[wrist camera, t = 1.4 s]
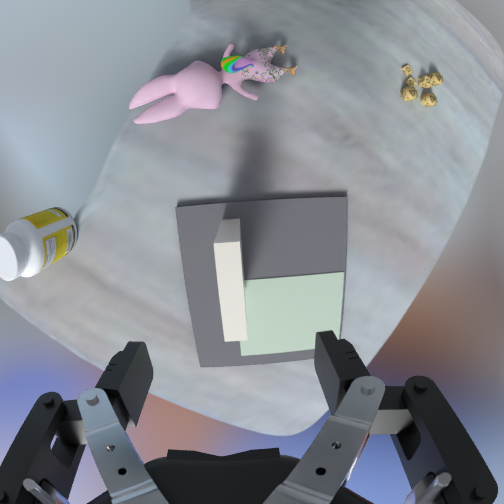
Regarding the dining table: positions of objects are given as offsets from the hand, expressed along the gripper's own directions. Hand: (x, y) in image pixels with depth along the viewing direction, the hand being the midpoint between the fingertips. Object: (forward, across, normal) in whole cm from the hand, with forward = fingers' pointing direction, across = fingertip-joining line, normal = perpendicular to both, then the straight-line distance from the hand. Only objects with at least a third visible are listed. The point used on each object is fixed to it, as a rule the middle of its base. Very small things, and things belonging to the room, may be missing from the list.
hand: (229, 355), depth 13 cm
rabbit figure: (+16, +1, -16) cm, 23 cm away
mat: (+16, -3, +4) cm, 16 cm away
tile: (+15, 0, 0) cm, 15 cm away
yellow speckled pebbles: (+16, -21, -17) cm, 32 cm away
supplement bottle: (+16, +19, -4) cm, 25 cm away
